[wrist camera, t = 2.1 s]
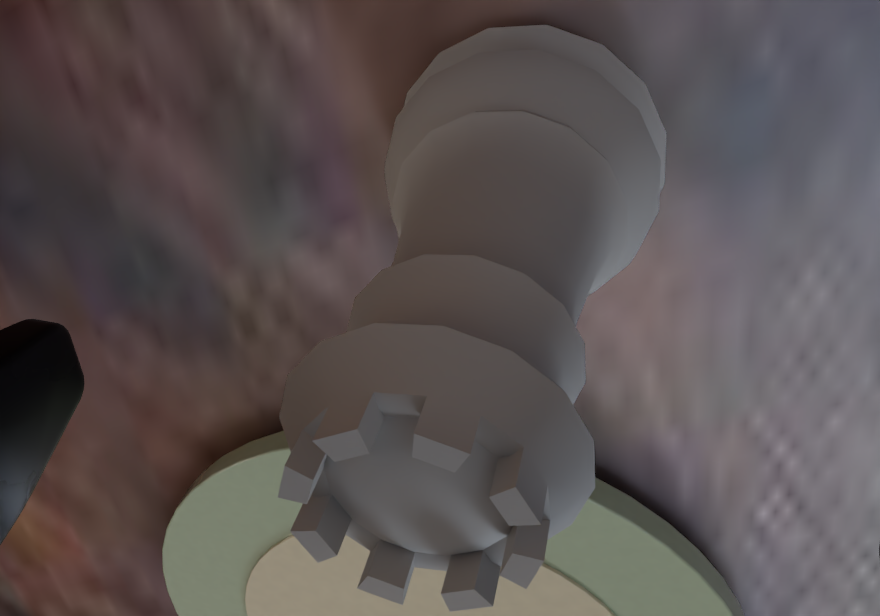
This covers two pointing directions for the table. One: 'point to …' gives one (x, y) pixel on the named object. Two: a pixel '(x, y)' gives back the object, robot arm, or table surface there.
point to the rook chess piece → (477, 318)
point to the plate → (424, 610)
